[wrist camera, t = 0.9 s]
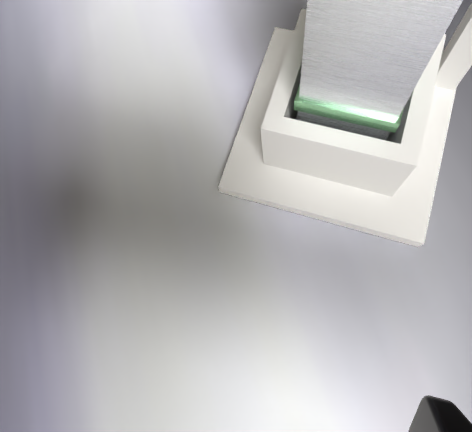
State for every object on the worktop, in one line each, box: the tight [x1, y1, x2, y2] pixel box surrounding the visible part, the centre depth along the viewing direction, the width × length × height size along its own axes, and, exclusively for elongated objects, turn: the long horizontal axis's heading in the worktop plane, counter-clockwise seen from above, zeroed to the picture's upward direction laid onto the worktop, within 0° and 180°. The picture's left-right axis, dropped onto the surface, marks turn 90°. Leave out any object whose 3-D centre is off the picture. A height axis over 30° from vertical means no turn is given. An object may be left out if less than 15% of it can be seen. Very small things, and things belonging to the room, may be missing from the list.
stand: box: [218, 3, 472, 247], centre depth 17 cm, size 10×11×10 cm
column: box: [294, 0, 463, 140], centre depth 15 cm, size 4×4×13 cm
